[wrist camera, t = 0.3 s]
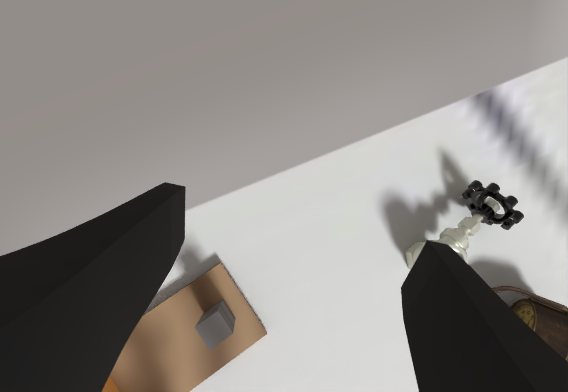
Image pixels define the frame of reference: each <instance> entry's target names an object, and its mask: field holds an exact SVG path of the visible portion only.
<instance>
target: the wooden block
mask: <svg viewBox="0 0 568 392" xmlns="http://www.w3.org/2000/svg"><path fill="white" fill-rule="evenodd" d="M266 334H267V331H266V330H265V328H264V327H263V325H262V324H261V322H260V321H259V319H258V318H257V316H256V315H255V313H254V311H253V310H252V308H251V307H250V305H249V304H248V302H247V301H246V299H245V298H244V296H243V295H242V293H241V292H240V290H239V289H238V287H237V286H236V284H235V283H234V281H233V280H232V278H231V277H230V275H229V274H228V272H227V271H226V269H225V268H224V266H223V264H222V263H220V264H218V265H217V266H215V267H214V268H212V269H211V270H209V271H208V272H206V273H205V274H204V275H202V276H201V277H199V278H198V279H196V280H195V281H193V282H192V283H190V284H189V285H187V286H186V287H184V288H183V289H182V290H180V291H179V292H177V293H176V294H174V295H173V296H171V297H170V298H168V299H167V300H165V301H164V302H162V303H161V304H159V305H158V306H157V307H155V308H154V309H152V310H151V311H149V312H148V313H146V314H145V315H143V316H142V317H141V319H140V321H139V322H138V324H137V325H136V327H135V329H134V330H133V332H132V333H131V335H130V337H129V339H128V341H127V342H126V344H125V346H124V348H123V350H122V351H121V354H120V356H119V358H118V360H117V362H116V364H115V366H114V368H113V370H112V372H111V374H110V377H111V379H112V380H113V382H114V383H115V385H116V387H117V388H118V390H119V391H120V392H189V391H191V390H192V389H193V388H195V387H196V386H197V385H199V384H200V383H201V382H203V381H204V380H205V379H207V378H208V377H210V376H211V375H212V374H214V373H215V372H216V371H218V370H219V369H220V368H222V367H223V366H224V365H226V364H227V363H228V362H230V361H231V360H232V359H234V358H235V357H237V356H238V355H239V354H241V353H242V352H243V351H245V350H246V349H247V348H249V347H250V346H251V345H253V344H254V343H255V342H257V341H258V340H260V339H261V338H262V337H264V336H265V335H266Z"/></svg>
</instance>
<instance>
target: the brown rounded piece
mask: <svg viewBox="0 0 568 392" xmlns="http://www.w3.org/2000/svg"><path fill="white" fill-rule="evenodd" d="M491 289H492V290H493V291H494V292H495V293H498V292H502V291H510V292H516V293H519V294H522V295H524V296H527V297H529V299H521V300H518V301H516V302H515V303H514V304H513V305H512V306H511V307H510V308H511V309H512V310H513V311H514V312H515V313H516V314H517V315H518V316H519V317H520V318H521V319H522V320H523V321H524V322H525V323H526V324H527V325H528V326H529V327H530V328H531V329H532V330H533V331H534V332H536V333H537V334H538V335H539V336H540V337H541V338H542V339H543V340H544V341H545V342H546V343H547V344H548V345H549V346H551V347H552V348H553V349H554V350H555V351H556V352H557V353H558V354H559V355H561V356H562V357H563V358H564V359H565V360H566V361H568V308H567V307H566V306H564V305H561V304H559V303H556V302H554V301H551V300H548V299H546V298H543V297H540V296H537V295H535V294H532V293H529V292H527V291H524V290H522V289H519V288H515V287H511V286H501V287H495V288H491Z"/></svg>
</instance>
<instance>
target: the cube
mask: <svg viewBox="0 0 568 392" xmlns="http://www.w3.org/2000/svg"><path fill="white" fill-rule="evenodd" d="M102 392H120V391H119V390H118V388H117V387H116V385H115V383H114V382H113V380H112V379H111V377H110V376H109V378H108V380H107V382H106V384H105V386H104V388H103V390H102Z"/></svg>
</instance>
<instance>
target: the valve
mask: <svg viewBox="0 0 568 392" xmlns="http://www.w3.org/2000/svg"><path fill="white" fill-rule="evenodd" d="M473 189H474V190H475V191H474V190H473ZM499 190H500V187H499V186H498V185H497V184H495V183H490V184H489V185H488V186H487V187H486V188H484V187H483V186H482V184H481V182H479V181H477V180H475V181H473V182H472V183H471V184H470V185H469V186H468V189H467V190H466V191H464V192H463V193H462V196H463V197H464V198H465V199H466V200H467V199H468V198H472V201H473V203H472V204H471V205H470V206H469V207H468V208H469V210H470V211H471V214H472V217H465V218H464V219H463V220H462V221H461V222H460V223H459V224H458V227H459V228H454V229H452V228H446V229H445V230H444V231H443V232H442V233H441V234H440V239H439V240H430V241H434V242H439V243H443V244H448V245H449V246H450V247H451V248H452V249H453V250H454V251H455V252H456V253H458V254H459V255H460V256H461V257H462V259H463V260H464V261H465V262H466V263H467V264H468V265H469V262H468V257H467V254H466V251H465V250H466V249H467V248H468V247H469V243H468V237H467V236H473V235H474V234H475V233H476V232H477V231H478V230H479V229H480V225H479V223H480V222H481V223H486V224H488V225H492V224H493V223H494V224H502V225H501V227H502V228H503V229H506V230H509V229H510V228H511V227H512V226H513V225H514V223H515V224H517V223H519V222H520V221H521V220H522V219H523V218H524V215H523V214H522V213H521V212H520V211H517V210H514V209H513V207H514V206H515V205H516V204H517V203H518V200H517V199H516V198H515V197H513V196H507V197H504V196H502V195H501V194H500V193H499ZM479 195H480V196H479ZM488 196H489V197H492V198H493V199H495V200H496V201H498V202H499V203H500V204H501V205H502V207H503V208H504V211H505V214H497V213H496V212H497V211H498V210H499V209H500V207H499V204H498V203H497V202H496V201H495V200H493V199H491V198H487V197H488ZM486 198H487V199H486ZM511 218H513V220H512V219H511ZM425 243H426V241H425V242H415V243H414V244H413V245H412V246H411V247H410V248H409V249H408V250H407V251H406V252H405V255H406V259H407V264H408V268H409V269H411V268H412V267H413V265H414V263H415V261H416V259H417V258H418V256H419V254H420V252H421V250H422V248H423V247H424V245H425Z"/></svg>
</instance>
